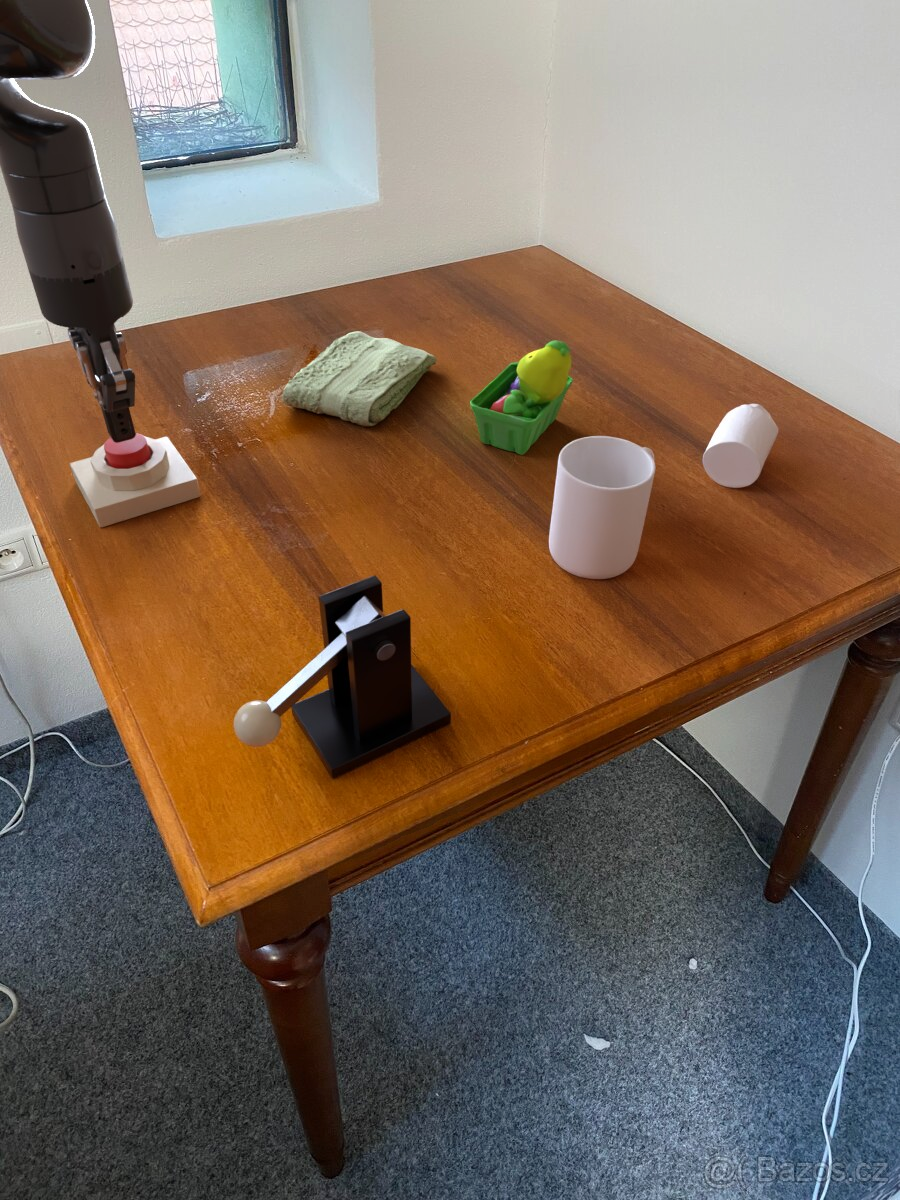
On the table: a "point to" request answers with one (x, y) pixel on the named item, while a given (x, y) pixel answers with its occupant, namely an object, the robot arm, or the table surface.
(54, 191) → the robot arm
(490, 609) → the table surface
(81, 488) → the button box
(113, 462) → the button
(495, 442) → the fruit basket
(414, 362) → the washcloth
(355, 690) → the bracket
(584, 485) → the cup
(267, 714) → the lever
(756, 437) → the white bottle
